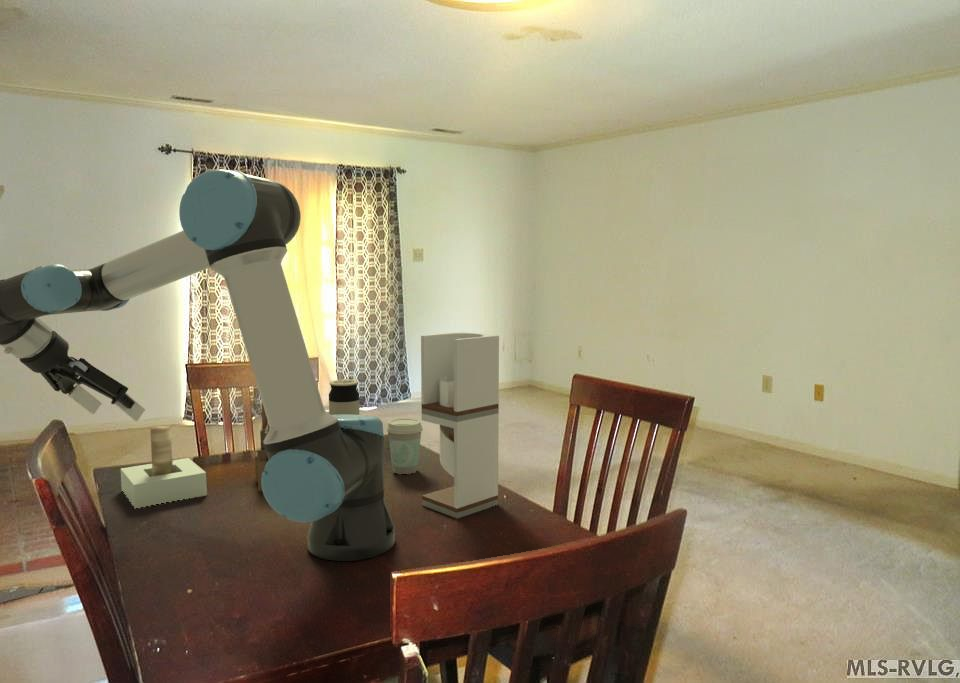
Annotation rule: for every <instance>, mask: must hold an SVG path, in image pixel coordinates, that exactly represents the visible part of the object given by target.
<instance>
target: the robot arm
mask: <svg viewBox="0 0 960 683" xmlns="http://www.w3.org/2000/svg"><path fill="white" fill-rule="evenodd" d="M178 214H179V216H178V217H179V222H180V226H181V228H182V230H181V231H179V232H176V233H174V234H172V235H170V236H169V235H168V236H167V237H164V238H162V239H159V240H157V241H155V242H152V243H150V244H147V245H145V246H143V247H140V248H137V249H136V250H132V251H131V252H128V253H126V254H124V255H121V256H118V257H116V258H114V259H111V260H109V261H107V262H104V263H102V264H99V265H98V266H95V267H93V268H89V269H71V268H67V267H66V266H65V265H63V264H59V263H53V264H52V263H51V264H49V265H48V264H47V265H45V266H37V267H35V268H34V269H31V270H27V271H25V272H23V273H19V274H17V275H14V276H11V277H9V278H4V279H1V280H0V346H1V348H2V347H3V348H4V350H3V353H5V354H6V355H9V354H11V355H12V356H13V357H15V358H16V359H18V360H19V362H20V363H21V364H23V365H25V366H26V367H27V368H28V369H30V370H31V371H32V372H33V373H36V374H40V375H41V376H42V377H43V378H44V379H45V380H46V382H47V383H48V384H49V386H50V387H51V388H52V389H53V390H54V391H55V392H62V394H64V395H67V396H68V397H69V398H70V399H72V400H73V401H74V402H75V403H77V404H78V405H80V406H81V407H82V408H83V409H85V410H86V411H87V412H89V413H90V414H91V415H94V414H95V413H96V412H97V411H98V409H99V408H100V407H101V406H102V404H103V403H102V402H101V401H100V400H99V399H97V398H96V397H95V396H93V395H92V394H91V393H90V392H89V391H88V390H86V389H85V388H84V387H82V386H81V385H83V386H85V387H88V388H89V389H92V390H94V391H95V392H97V393H100V394H101V395H103V396H105V397H107V398H109V399H110V400H111V402H110V404H111V405H115V406H116V407H117V408H119V409H120V410H121V411H122V412H123V413H124V414H126V415H127V416H128V417H129V418H131V419H132V421H135V422H138V421H139V420H140V418H141V417H142V415H143V414H144V412H146V408H144V407H143V406H142V405H140V403H138V402H137V401H136V400H135V399H134V398H133V397H131V396H130V395H129V394H128V393H127V392H128V390H129V387H127V386H125V385H124V384H122V383H121V382H119V381H117V380H116V379H114V378H113V377H111V376H110V375H108V374H106V373H105V372H103V371H102V370H100V369H98V368H97V367H95V366H94V365H92V364H91V363H90V362H89V361H87V360H86V359H85V358H84V357H83V358H82V357H80V358H79V359H77V358H75V357H74V356H69V355H68V354H69V353H68V352H69V349H70V346H69V345H70V344H69V342H68V341H67V340H65V338H63V337H62V336H61V335H60V334H59V333H57V332H56V331H55V330H53V329H52V327H51V326H50V325H49V324H47V323H46V321H44V320H43V319H42V318H41V317H44V316H50V315H62V314H72V313H75V314H76V313H82V312H84V313H85V312H97V311H100V312H106V311H111V310H116V309H120V308H123V307H124V306H126V305H127V303H128V302H129V301H130V300H131V299H133V298H135V297H138V296H141V295H143V294H146V293H148V292H150V291H153V290H156V289H158V288H161V287H164V286H167V285H169V284H171V283H174V282H176V281H179V280H182V279H184V278H187V277H189V276H192V275H194V274H197V273H199V272H202V271H205V270H207V269H210V270H211V271H213V272H215V273H216V274H218V275H220V276H222V278H224V281H225V284H226V288H227V291H228V294H229V297H230V302H231V304H232V308H233V311H234V314H235V317H236V320H237V323H238V324H237V325H238V326H239V331H240V333H241V334H240V335H241V336H242V340H243V343H244V347H245V350H246V353H247V357H248V360H249V363H250V366H251V370H252V373H253V375H254V379H255V380H254V381H255V383H256V386H257V390H258V393H259V396H260V399H261V404H262V403H263V406H264V410H265V413H266V416H267V419H268V423H269V426H270V429H269V432H268V434H267V436H266V437H265V439H264V441H263V442H264V446H265V449H266V453H267V456H268V459H269V461H268V462H267V463H266V466H265V469H264V471H263V473H262V477H261V486H262V491H261V492H262V494H263V496H264V499H265V500H266V502H267V503H268V505H269V506H270V507H271V509H272V510H274V512H276V513H277V514H278V515H280V516H283V517H284V518H285V519H287V520H289V521H291V522H295V523H303V524H304V523H310V526H309V529H308V532H307V550H308V551H309V553H310V554H312V555H313V556H315V557H317V558H320V559H323V560H328V561H335V562H349V561H350V562H353V561H361V560H366V559H370V558H375V557H377V556H380V555H382V554H385V553H386V552H388V551H389V550H391V549H392V548H393V547H394V545H395V544H396V543H395V542H396V537H395V535H396V534H395V533H396V532H395V526H394V523H393V521H392V518H391V515H390V512H389V509H388V506H387V504H386V500H385V438H386V436H385V434H384V425H383V424H384V423H383V421H382V419H380V418H379V417H377V416H373V415H366V414H359V415H347V414H342V415H330V414H329V412H327V411H326V409H325V406H324V404H323V399H322V397H321V394H320V390H319V387H318V383H317V380H316V377H315V373H314V369H313V367H312V364H311V359H310V356H309V353H308V350H307V347H306V343H305V340H304V336H303V334H302V330H301V326H300V323H299V319H298V317H297V313H296V310H295V306H294V303H293V300H292V297H291V293H290V290H289V286H288V283H287V280H286V276H285V273H284V270H283V267H282V266H283V265H282V262H283V260H284V257H285V255H286V254H287V253H288V248H287V245H288V244H289V243H291V241H292V240H293V239H294V238H295V236H296V235H297V233H298V230H299V228H300V225H301V219H302V218H301V214H302V213H301V209H300V205H299V202H298V200H297V198H296V197H295V195H294V194H293V193H292V191H291V190H290V189H288V187H287V186H285V184H282V183H280V182H278V181H276V180H273V179H271V178H265V177H259V176H256V175H252V174H246V173H244V172H242V171H241V170H240V171H239V170H236V169H209V170H207V171H204V172H202V173H200V174H199V175H198V176H196V177H195V178H193V179H192V180H191V181H190V183H188V184H187V187H186V189H185V192H184V194H182V195H181V199H180V203H179V212H178Z"/></svg>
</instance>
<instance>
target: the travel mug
mask: <svg viewBox="0 0 960 683" xmlns="http://www.w3.org/2000/svg"><path fill="white" fill-rule="evenodd" d="M358 383H359V381H358V380H356V379H336V380H335V379H334V380H331V381H329V386H330V391H329V393H328V413H329V414H330V415H342V414H347V415H360V392H359V390H358V389H357V386H358Z"/></svg>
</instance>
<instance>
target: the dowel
mask: <svg viewBox="0 0 960 683" xmlns="http://www.w3.org/2000/svg"><path fill="white" fill-rule="evenodd" d="M149 429H150V431H149V432H150V447H151V448H150V449H151V450H150V451H151V454H150V455H151V464H152V475H153V476H159V475H165V474H171V473H173V463H172V460H173V446H172V444H173V442H172V427H171V426H170V425H161V426H160V425H159V426H154V427H151V428H149Z"/></svg>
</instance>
